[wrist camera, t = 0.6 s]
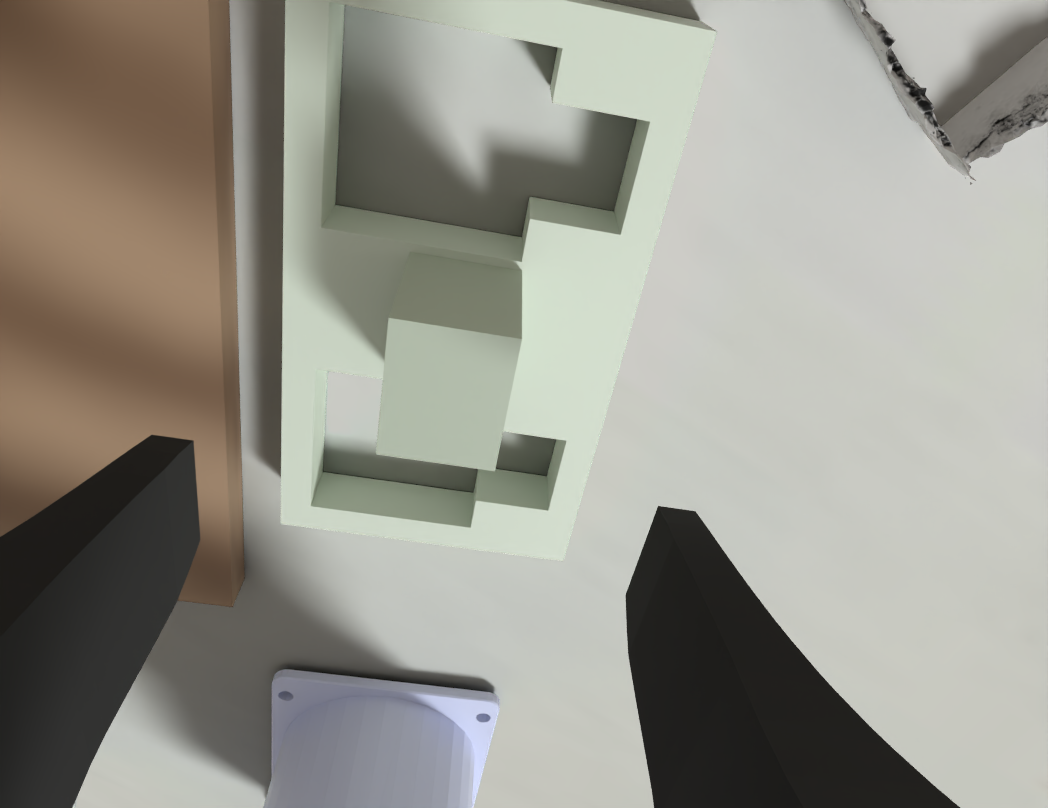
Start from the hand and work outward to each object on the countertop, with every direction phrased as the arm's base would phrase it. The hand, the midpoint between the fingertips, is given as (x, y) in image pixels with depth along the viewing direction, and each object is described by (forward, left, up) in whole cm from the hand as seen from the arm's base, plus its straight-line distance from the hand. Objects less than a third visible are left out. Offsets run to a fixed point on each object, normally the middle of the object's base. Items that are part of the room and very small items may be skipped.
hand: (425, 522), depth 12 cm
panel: (0, 0, -8) cm, 8 cm away
